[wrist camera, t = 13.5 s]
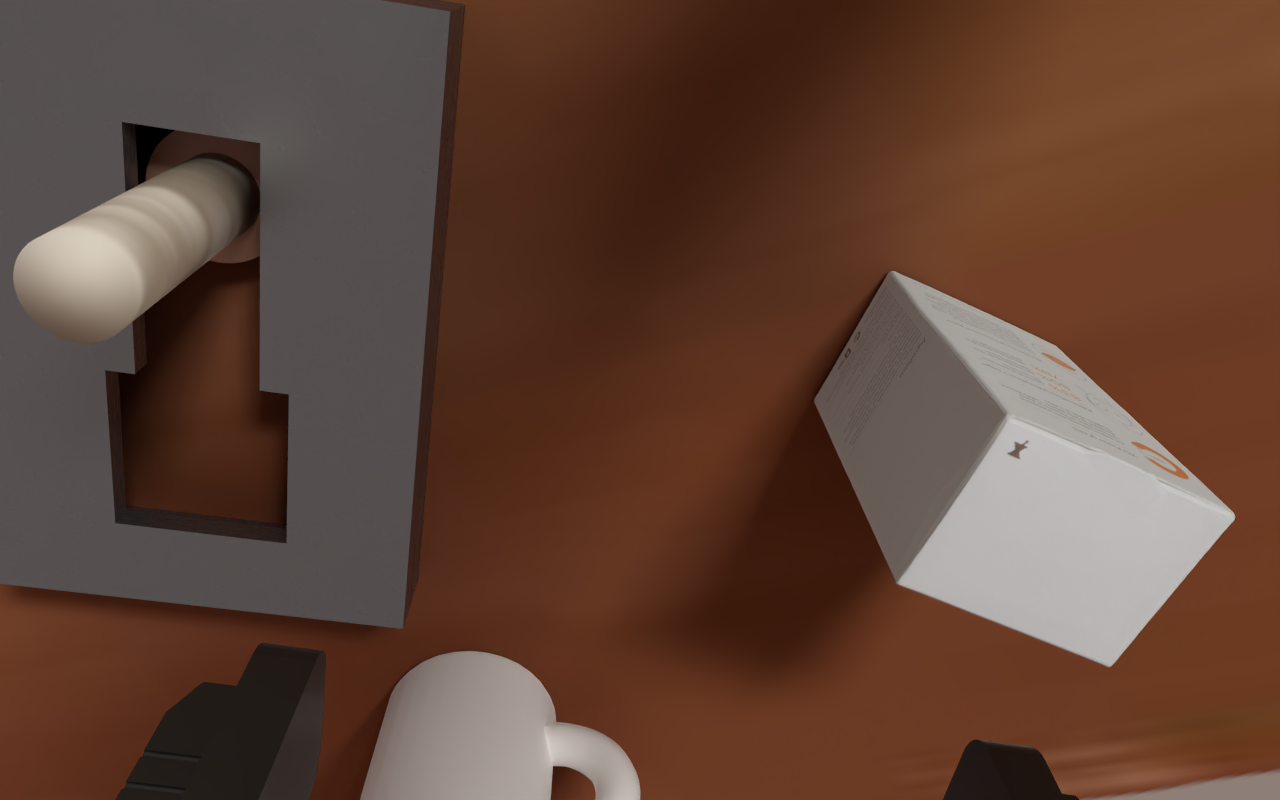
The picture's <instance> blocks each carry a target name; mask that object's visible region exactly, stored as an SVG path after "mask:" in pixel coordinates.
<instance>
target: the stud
mask: <svg viewBox="0 0 1280 800" xmlns="http://www.w3.org/2000/svg"><path fill="white" fill-rule="evenodd" d="M259 256H260V143H256V142H250V141H243V140H237V139H230V138H224V137H217V136H211V135H204V134H198V133H191V132H185V131H178V130H175V131H174V132H172V133H170V134H169V135H168V136H166V137H165V138H164V139H163V140H162V141H161V142H160V143H159V144H158V145H157V147H156V148H155V150H154V151H153V153H152V155H151V157H150V160H149V163H148V166H147V171H146V181H145V182H143V183H142V184H140V185H138V186H136V187H134V188H132V189H130V190H128V191H126V192H124V193H122V194H120V195H119V196H117V197H115V198H113V199H111V200H109V201H107V202H105V203H103V204H101V205H99V206H97V207H95V208H94V209H92V210H90V211H88V212H86V213H84V214H82V215H80V216H78V217H76V218H74V219H72V220H70V221H69V222H67V223H65V224H63V225H61V226H59V227H57V228H55V229H53V230H51V231H49V232H47V233H46V234H44V235H42V236H40V237H38V238H36V239H34V240H32V241H31V242H30V243H28V244H27V245H26V246H25V247H24V248H23V249H22V251H21V252H20V253H19V255H18V257H17V259H16V262H15V265H14V272H13V281H14V287H15V291H16V294H17V297H18V299H19V301H20V303H21V305H22V306H23V308H24V310H25V311H26V312H27V314H28V315H29V316H30V317H31V318H32V319H33V320H34V321H35V322H36V323H37V324H38V325H39V326H41V327H42V328H43V329H45V330H46V331H48V332H49V333H51V334H53V335H55V336H57V337H59V338H62V339H65V340H68V341H72V342H77V343H95V342H101V341H104V340H107V339H109V338H111V337H113V336H114V335H116V334H117V333H119V332H120V331H121V330H123V329H124V328H125V327H126V326H128V325H129V324H130V323H131V322H133V321H134V320H135V319H136V318H138V317H139V316H140V315H141V314H143V313H144V312H145V311H146V310H148V309H149V308H150V307H151V306H153V305H154V304H155V303H156V302H158V301H159V300H160V299H161V298H163V297H164V296H165V295H166V294H168V293H169V292H170V291H171V290H173V289H174V288H175V287H176V286H178V285H179V284H180V283H181V282H183V281H184V280H185V279H186V278H188V277H189V276H190V275H191V274H193V273H194V272H195V271H196V270H198V269H199V268H200V267H201V266H203V265H204V264H205V263H206V262H208V261H209V260H210V261H214V262H219V263H239V262H245V261H248V260H252V259H255V258H257V257H259Z"/></svg>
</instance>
